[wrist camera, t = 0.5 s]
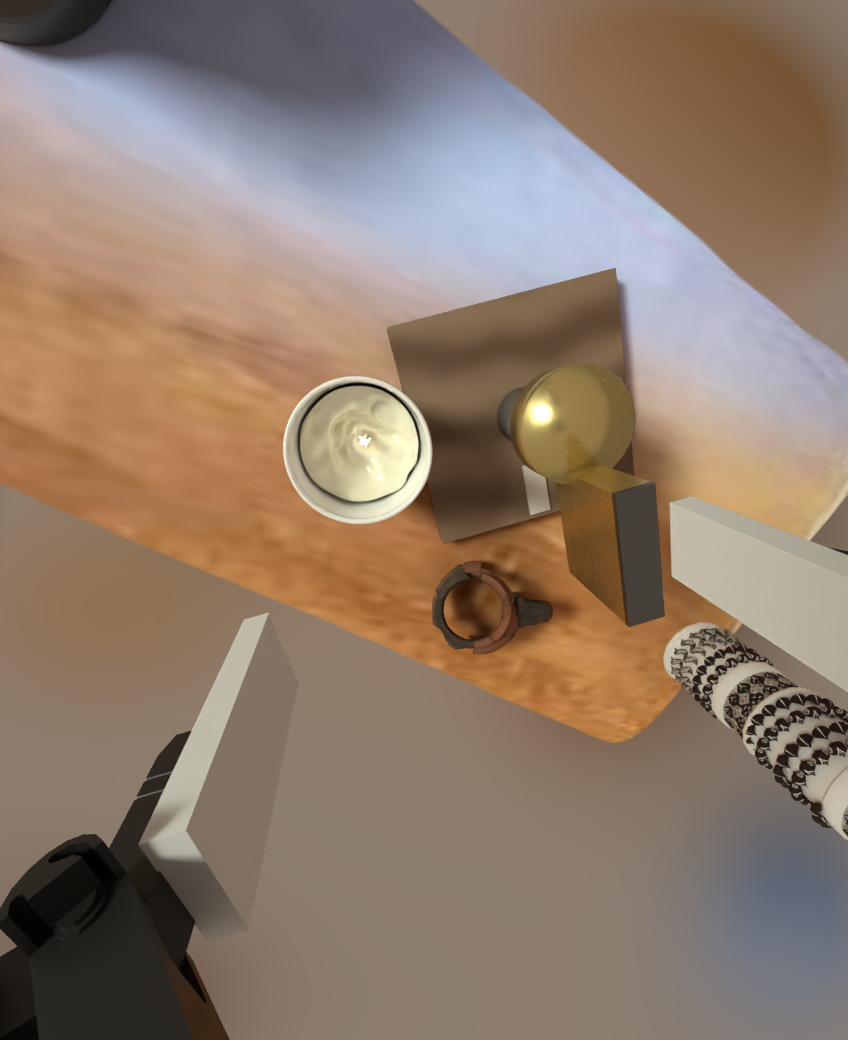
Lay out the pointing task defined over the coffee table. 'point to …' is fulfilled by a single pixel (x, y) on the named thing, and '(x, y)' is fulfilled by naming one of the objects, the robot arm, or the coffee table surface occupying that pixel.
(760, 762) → the decorative candle
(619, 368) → the post plinth
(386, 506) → the candle holder
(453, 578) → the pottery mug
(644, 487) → the cap
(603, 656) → the coffee table surface
